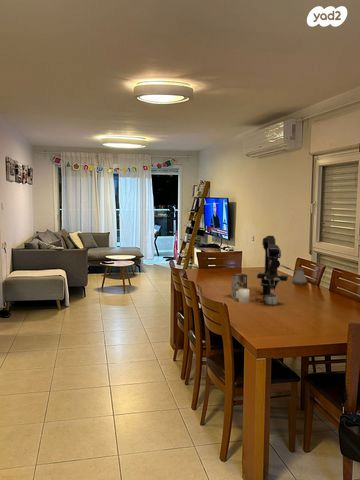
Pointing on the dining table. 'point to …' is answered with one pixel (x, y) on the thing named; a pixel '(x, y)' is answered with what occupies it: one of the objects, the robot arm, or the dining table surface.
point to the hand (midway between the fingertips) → (272, 290)
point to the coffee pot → (298, 276)
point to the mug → (243, 295)
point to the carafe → (271, 300)
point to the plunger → (272, 291)
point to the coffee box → (238, 283)
